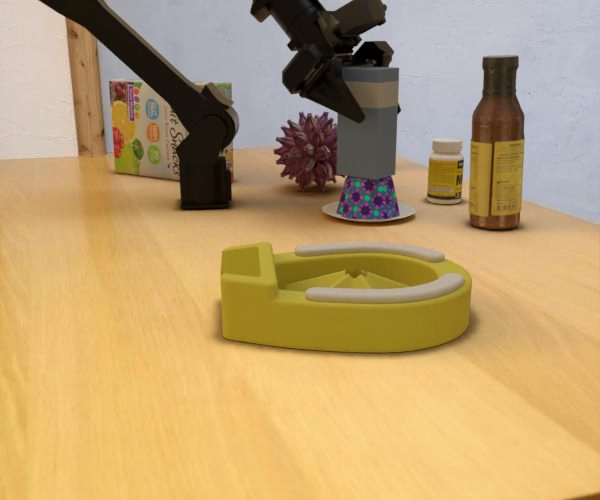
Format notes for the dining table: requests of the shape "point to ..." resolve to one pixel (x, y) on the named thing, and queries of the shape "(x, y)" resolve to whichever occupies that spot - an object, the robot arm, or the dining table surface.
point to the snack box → (150, 129)
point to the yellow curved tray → (343, 297)
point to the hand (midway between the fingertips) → (381, 117)
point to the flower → (309, 150)
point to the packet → (369, 124)
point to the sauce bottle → (497, 148)
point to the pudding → (368, 201)
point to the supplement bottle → (445, 171)
